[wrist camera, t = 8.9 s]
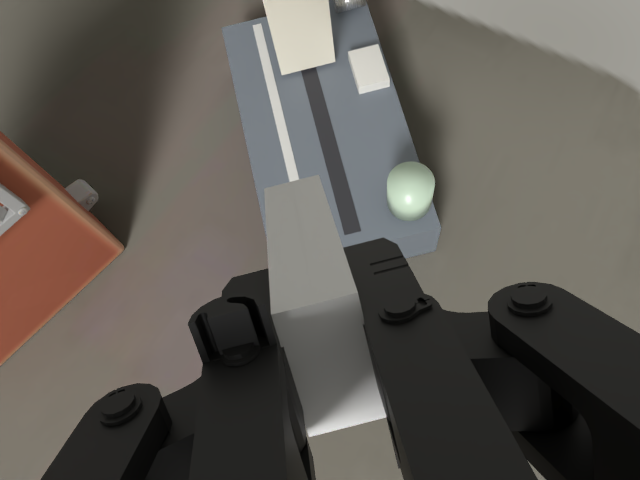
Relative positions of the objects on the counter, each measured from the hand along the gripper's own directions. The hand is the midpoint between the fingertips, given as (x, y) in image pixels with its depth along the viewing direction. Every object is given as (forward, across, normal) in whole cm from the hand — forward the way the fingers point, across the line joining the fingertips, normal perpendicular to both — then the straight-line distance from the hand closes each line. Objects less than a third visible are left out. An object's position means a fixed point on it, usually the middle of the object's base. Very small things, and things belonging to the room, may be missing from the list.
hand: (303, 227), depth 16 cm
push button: (+18, +6, -8) cm, 20 cm away
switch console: (+25, +2, -6) cm, 26 cm away
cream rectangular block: (+26, +2, +1) cm, 26 cm away
